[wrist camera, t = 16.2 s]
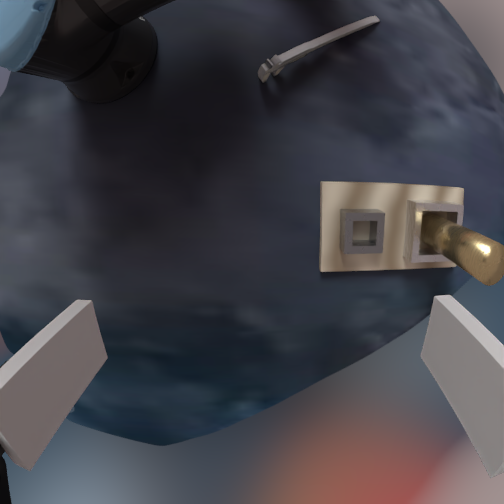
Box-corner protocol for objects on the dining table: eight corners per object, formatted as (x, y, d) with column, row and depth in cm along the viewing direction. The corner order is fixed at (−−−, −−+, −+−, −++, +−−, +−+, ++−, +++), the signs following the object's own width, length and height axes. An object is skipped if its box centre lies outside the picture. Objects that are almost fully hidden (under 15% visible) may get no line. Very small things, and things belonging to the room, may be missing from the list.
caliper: (263, 84, 37) (262, 72, 31) (258, 78, 36) (256, 65, 30) (379, 22, 32) (393, 5, 26) (374, 16, 32) (388, -1, 26)
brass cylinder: (416, 212, 39) (482, 243, 23) (442, 213, 38) (511, 243, 23) (414, 243, 40) (474, 286, 25) (439, 243, 40) (503, 284, 24)
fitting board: (458, 187, 38) (475, 191, 34) (451, 263, 42) (465, 273, 38) (320, 181, 40) (326, 184, 35) (319, 268, 43) (324, 280, 39)
